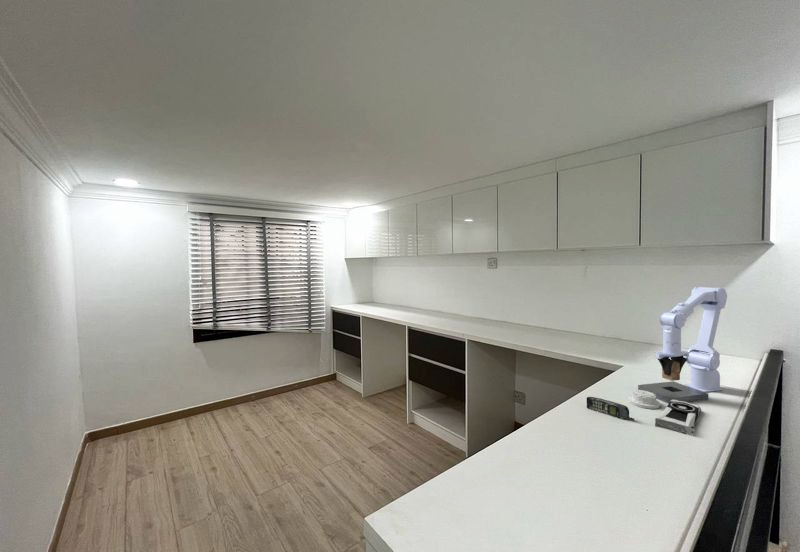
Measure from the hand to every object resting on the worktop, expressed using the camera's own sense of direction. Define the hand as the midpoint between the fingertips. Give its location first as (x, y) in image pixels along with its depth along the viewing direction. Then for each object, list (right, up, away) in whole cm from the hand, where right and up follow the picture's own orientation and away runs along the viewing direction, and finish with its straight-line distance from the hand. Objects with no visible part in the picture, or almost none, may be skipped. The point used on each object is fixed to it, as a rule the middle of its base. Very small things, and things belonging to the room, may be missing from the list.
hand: (671, 374), depth 134 cm
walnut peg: (0, -2, 0) cm, 2 cm away
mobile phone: (-35, -11, -14) cm, 40 cm away
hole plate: (0, -9, 0) cm, 9 cm away
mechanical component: (-17, -10, -7) cm, 20 cm away
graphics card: (-13, -11, -20) cm, 26 cm away
